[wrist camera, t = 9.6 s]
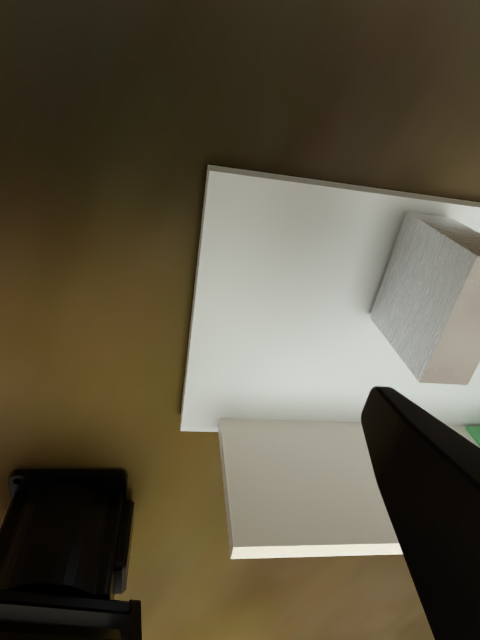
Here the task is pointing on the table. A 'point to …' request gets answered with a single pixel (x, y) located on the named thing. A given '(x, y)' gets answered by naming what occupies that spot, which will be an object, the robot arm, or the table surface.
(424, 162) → the table surface
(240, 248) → the gauge base
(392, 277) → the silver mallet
